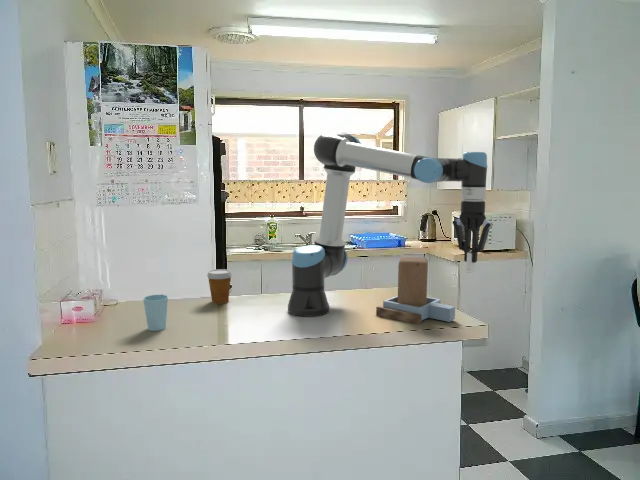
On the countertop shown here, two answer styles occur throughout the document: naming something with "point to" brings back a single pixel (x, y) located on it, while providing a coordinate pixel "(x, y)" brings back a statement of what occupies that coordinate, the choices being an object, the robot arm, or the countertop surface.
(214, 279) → the disposable coffee cup
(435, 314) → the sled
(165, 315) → the cup
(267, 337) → the countertop surface
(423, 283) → the wooden block
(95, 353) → the countertop surface
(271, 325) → the countertop surface
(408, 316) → the rails
